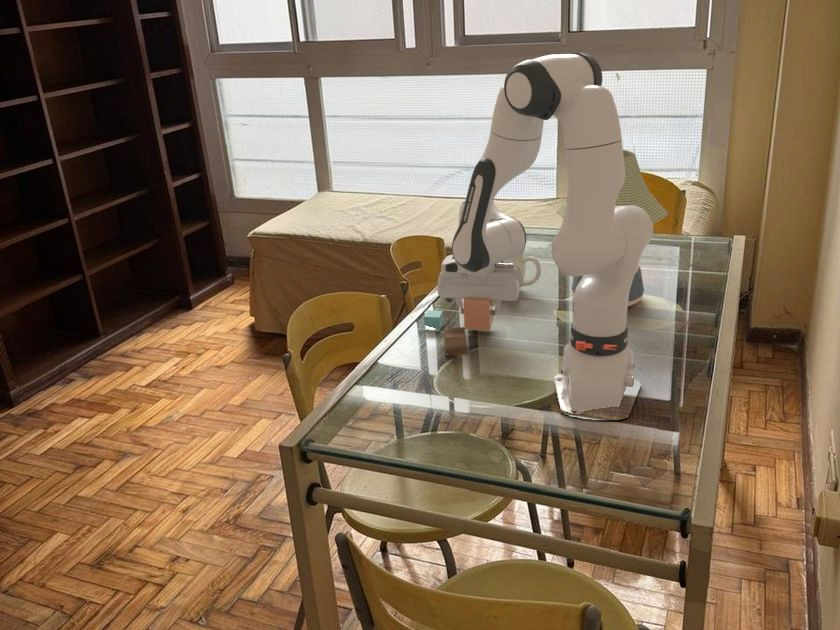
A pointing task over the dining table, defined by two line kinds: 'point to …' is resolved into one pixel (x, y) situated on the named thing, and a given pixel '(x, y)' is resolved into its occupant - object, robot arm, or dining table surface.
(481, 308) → the salmon pink cube
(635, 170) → the desk lamp
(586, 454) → the dining table surface
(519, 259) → the pitcher
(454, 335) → the walnut block
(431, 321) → the cube
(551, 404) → the dining table surface
